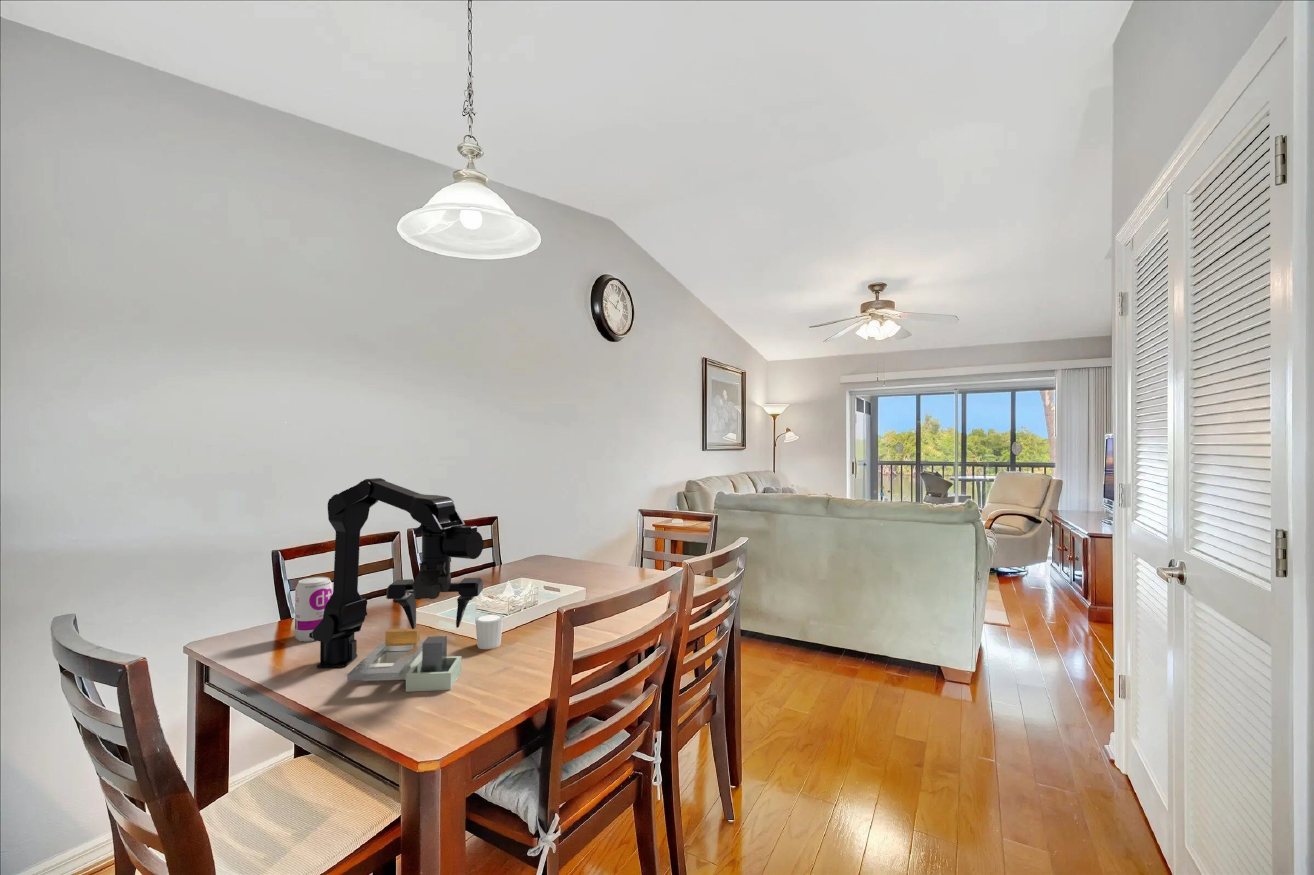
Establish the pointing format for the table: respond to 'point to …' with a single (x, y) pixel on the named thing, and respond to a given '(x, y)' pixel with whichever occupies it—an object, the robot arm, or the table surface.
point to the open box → (433, 676)
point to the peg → (435, 654)
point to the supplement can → (310, 605)
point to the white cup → (489, 630)
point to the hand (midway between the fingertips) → (435, 627)
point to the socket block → (390, 658)
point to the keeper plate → (393, 642)
